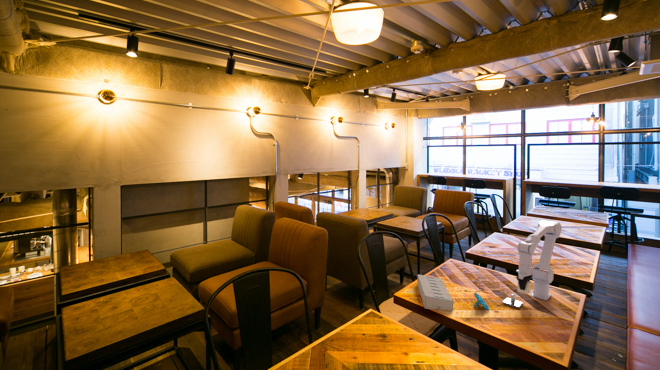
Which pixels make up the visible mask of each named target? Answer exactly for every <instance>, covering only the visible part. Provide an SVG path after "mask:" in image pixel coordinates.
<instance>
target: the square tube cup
mask: <svg viewBox="0 0 660 370" xmlns="http://www.w3.org/2000/svg"><path fill="white" fill-rule="evenodd" d="M531 288H532V281H530V282H529V281H528V282H527V284H526V288H525V290H521V289H520V287H519V282H518V281H517V293H521V294H525V295H529V294H531Z"/></svg>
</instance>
